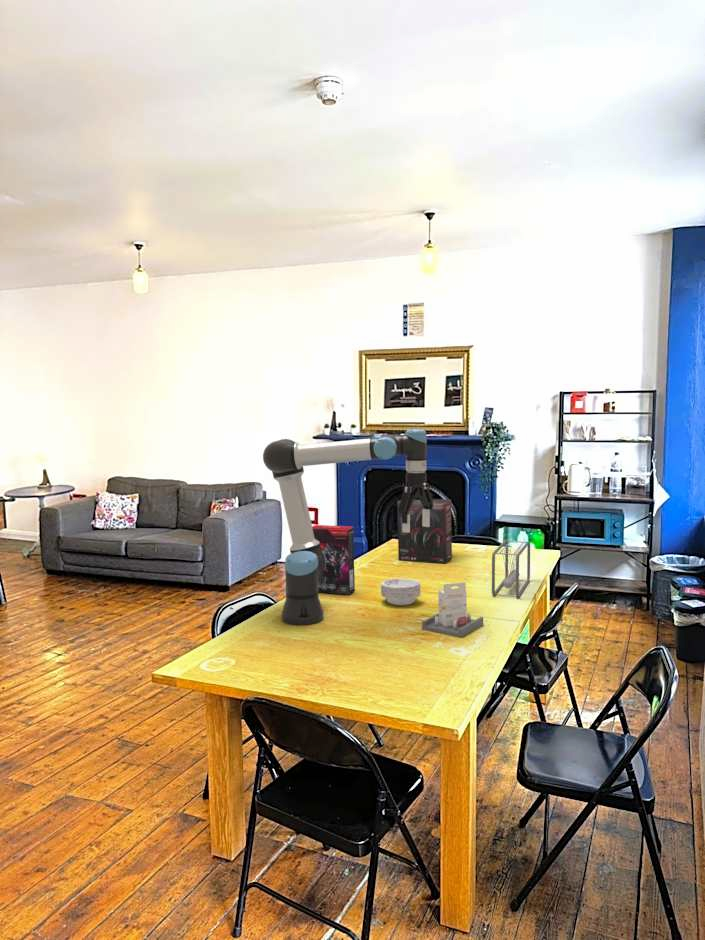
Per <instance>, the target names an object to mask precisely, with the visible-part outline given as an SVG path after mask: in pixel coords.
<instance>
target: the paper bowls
mask: <svg viewBox="0 0 705 940" xmlns="http://www.w3.org/2000/svg"><path fill="white" fill-rule="evenodd" d="M380 596H381V597H383V598H384V599H386V601H387V603H389V604H390V605H393V606H394V605H395V606H408V605H411V604H413V603H415V601H416V598H419V597H420V596H421V582H420V581H418V580H417V579H412V578H391V579H386V580H384V581H382V582H381V583H380Z"/></svg>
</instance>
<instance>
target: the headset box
mask: <svg viewBox="0 0 705 940" xmlns="http://www.w3.org/2000/svg"><path fill="white" fill-rule="evenodd" d="M430 494H431V498H432V502H433V508H432V509H430V527H424V526H422V509H424V507H423V505H422V503H421V501H420V499H419V498H418V497H417V498H416V499H414V501H413V504H412V506H411V508H410V511H409V513H408V514H410V532H409V533H407V532H402V514H399V513H398V510H399V506H400V502H401V499H400V500H398V501H397V502H396V505H397V508H396V509H397V511H396V512H397V545H398V546H397V548H398V550H397V553H398V555H397V556H398V561H404V562H419V563H432V564H433V563H436V564H447V563H448V562H449V561H451V559H452V558H453V548H452V547H453V546H452V545H453V542H452V541H453V536H452V533H453V532H452V530H453V529H452V499H444V498H442V499H441V498H440V499H437V498H434V495H433V493H431V492H430Z"/></svg>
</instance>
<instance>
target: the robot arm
mask: <svg viewBox="0 0 705 940" xmlns="http://www.w3.org/2000/svg"><path fill="white" fill-rule="evenodd" d="M427 443H428V442H427V432H426V431H425V429H417V428H415V429H406V431H405V434H401V435H400V434H399V435H398V434H394V435H393V434H391V435H390V434H378V435H374V436H373V437H372V438H370V437H369V438H359V439H349V440H339V441H327V442H317V443H307V444H300V443H299V442H296V441H294V440H292V439H289V438H283V439H279V440H276V441H272V442H270V443H269V444H268V445H267V446H266V447H265V448H264V450H263V453H262V461H263V463H264V465H265V467H266V468H267V469H268V470H270V472H271V473H272V476H273V479H274V480H275V481H277V482H278V484H279V490H280V495H281V498H282V501H283V502H282V503H283V506H284V511H285V515H286V521H287V525H288V528H289V529H288V530H289V533H290V538H291V543H292V544H291V546H290V547H289V552H290V553H289V554H288V555H287V556H286V558H285V561H284V570H285V601H284V603H283V607H282V611H281V621H282V622H284V623H285V624H290V625H296V626H297V625H298V626H303V625H304V626H305V625H313V624H318V623H319V622H322V621H323V620H324V618H325V614H324V609H323V608H322V605H321V601H320V598H319V597H320V596H319V592H318V578H319V577H320V576H321V575H322V574H323V572H324V570H325V568H326V557H325V554H324V553H323V551H322V550H321V546H320V542H319V541H317V540H316V539H315V537H314V533H313V528H312V527H313V524H312V519H311V516H310V511H309V508H308V507H309V506H308V502H307V498H306V493H305V489H304V484H303V480H302V476H303V474H304V473H305V471H304V470H305V469H304V467H305V466H306V467H309V466H316V465H328V464H338V463H339V464H341V463H348V462H349V463H350V462H358V461H359V462H361V461H371V460H372V461H373V460H375V461H376V460H390V459H392V458H393V457H395V456H398V457H399V456H405V471H406V472H405V482H406V483H408V485H407V486H403V487H402V495H401V499H400V500H401V502H400V506H399V510H398V513H399V514H402V532H407V533H409V532H410V514H408V513H409V511H410V508H411V506H412V504H413V501H414V499H416V498H417V497H418V498H419V499H420V501H421V503H422V505H423V507H424V509H422V526H424V527H430V509H432V508H433V502H432V498H431V494H430V493H431V492H430V491H431V490H430V484H429V483H428V482H427V472H426V471H427V466H428V465H427V454H428V453H427V451H428V450H427V448H428V447H427Z"/></svg>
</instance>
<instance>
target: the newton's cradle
mask: <svg viewBox="0 0 705 940" xmlns="http://www.w3.org/2000/svg"><path fill="white" fill-rule="evenodd" d="M511 543H519V544H517V546H518V545H519V546H518V547H517V548H516V549H515V550H514V551H513V553H512V549H510V548H511ZM523 544H524V545H523ZM521 547H522V548H521ZM526 548H527V557H526V559H527V561H526V562H527V563H526V565H527V567H526V568H527V569H526V573H527V577H526V580H524V579H520V556H521V555H522V554H523V552H524V551H525V550H526ZM496 555H502V558H503V560H504V561H503V564H504V568H505V569H504V571H505V572H504V579H503V580H502V581H501V582H500V584H499V585H498V587H497V588H496V585H495V584H496ZM504 555H505V556H504ZM509 558H512V559H509ZM510 563H511V565H509V564H510ZM509 569H511V570H509ZM530 571H531V542H530V541H529V540H528V541H518V540H517V541H515V540H508V539H505V540H504V541H503V542H502V543H500V544H499V546H498V547H497V548H495V550H494V551H493V552H492V555H491V596H493V597H495V596H503V597H514V598H516V599H519V598H520V597H521V596H522V594H523V592H524V591H525V589H526V587H527V586H528V584H529V583H530V579H531V572H530ZM520 582H524V584H523V585H522V587H521V588H520V590H519V586H520ZM513 585H515V595H510V594H499V593H498V592H499V591H500V590H501V588H502V587H503V586H504V588H506V589H511V588H512V587H513ZM495 588H496V589H495Z"/></svg>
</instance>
